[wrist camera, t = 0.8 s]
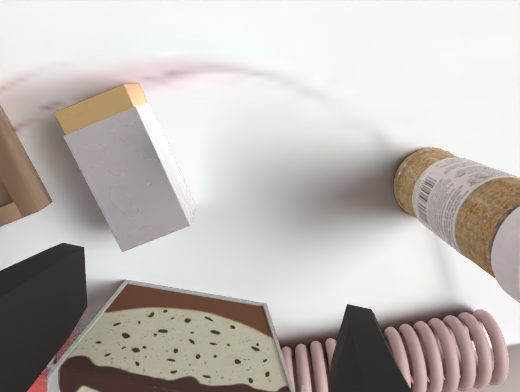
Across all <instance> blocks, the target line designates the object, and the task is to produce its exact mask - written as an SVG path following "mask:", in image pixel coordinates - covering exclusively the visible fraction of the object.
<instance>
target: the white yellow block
mask: <svg viewBox="0 0 520 392" xmlns="http://www.w3.org/2000/svg"><path fill="white" fill-rule="evenodd" d="M55 115H56V117H57V119H58V121H59V123H60V125H61V127H62V129H63V131H64V133H65V135H64V136H63V137H64V139H65V141H66V143H67V145H68V147H69V149H70V151H71V153H72V155H73V157H74V159H75V160H76V162H77V164H78V166H79V168H80V170H81V172H82V174H83V176H84V178H85V180H86V182H87V184H88V186H89V188H90V190H91V192H92V194H93V196H94V198H95V200H96V202H97V203H98V205H99V207H100V209H101V211H102V213H103V215H104V217H105V219H106V221H107V223H108V225H109V227H110V229H111V231H112V233H113V235H114V237H115V239H116V241H117V243H118V244H119V246H120V248H121V250H122V252H124V251H126V250H129V249H131V248H134V247H136V246H139V245H142V244H144V243H147V242H149V241H152V240H154V239H157V238H159V237H162V236H165V235H167V234H170V233H172V232H175V231H177V230H180V229H182V228H185V227H188V226H190V224H191V221H192V218H193V215H194V211H195V208H196V204H195V202H194V199H193V197H192V195H191V193H190V190H189V188H188V186H187V184H186V182H185V179H184V177H183V175H182V173H181V170H180V168H179V166H178V164H177V161H176V159H175V157H174V155H173V153H172V150H171V148H170V146H169V144H168V141H167V139H166V137H165V135H164V133H163V130H162V128H161V126H160V124H159V121H158V119H157V117H156V115H155V112H154V110H153V108H152V106H151V104H150V102H149V103H148V101H147V99H146V97H145V95H144V92H143V90H142V88H141V86H140V83H136V84H123V85H121V86H118V87H116V88H113V89H111V90H109V91H106V92H104V93H101V94H99V95H96V96H94V97H91V98H89V99H87V100H84V101H82V102H79V103H77V104H74V105H72V106H70V107H67V108H65V109H62V110H60V111H57V112H55Z"/></svg>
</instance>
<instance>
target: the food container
mask: <svg viewBox="0 0 520 392" xmlns="http://www.w3.org/2000/svg"><path fill="white" fill-rule="evenodd" d="M56 359H57V354H56V355H55V356H54V357H53V359H52V360H51V361H50V363H49V364H48V365H47V392H295V391H294V388H293V385H292V382H291V379H290V376H289V372H288V369H287V366H286V363H285V360H284V357H283V354H282V351H281V348H280V345H279V342H278V339H277V336H276V333H275V329H274V326H273V323H272V320H271V317H270V314H269V311H268V308H267V305H266V303H260V302H254V301H248V300H242V299H236V298H231V297H225V296H219V295H213V294H207V293H201V292H195V291H189V290H184V289H178V288H172V287H166V286H160V285H154V284H148V283H143V282H137V281H131V280H125V281H124V282H123V283H122V284H121V285H120V287H119V288H118V289H117V290H116V291H115V293H114V294H113V295H112V296H111V297H110V299H109V300H108V301H107V302H106V303H105V305H104V306H103V307H102V308H101V309H100V311H99V312H98V313H97V314H96V316H95V317H94V318H93V319H92V320H91V322H90V323H89V324H88V325H87V326H86V328H85V329H84V330H83V331H82V332H81V334H80V335H79V336H78V337H77V338H76V340H75V341H74V342H73V343H72V344H71V346H70V347H69V348H68V349H67V350H66V352H65V353H64V354H63V355H62V356H61V358H60V359H59V360H58V361H57V363H56ZM299 392H305V386H304V385H302V386H301V389H300V391H299Z"/></svg>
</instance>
